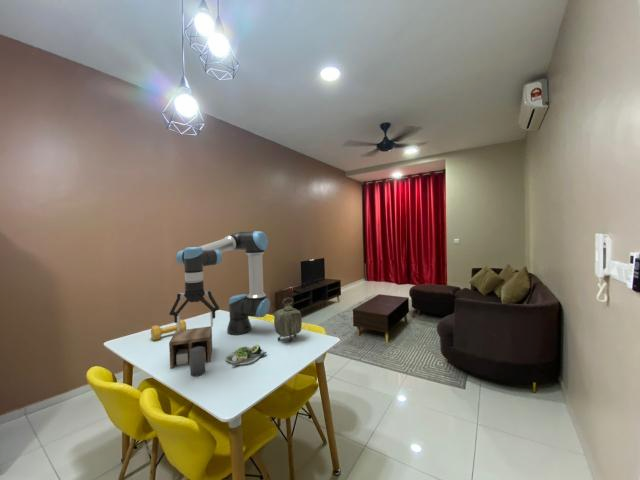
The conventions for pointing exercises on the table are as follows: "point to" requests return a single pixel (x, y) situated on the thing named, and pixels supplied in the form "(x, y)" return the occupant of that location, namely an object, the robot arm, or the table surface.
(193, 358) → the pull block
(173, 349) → the lane shelf
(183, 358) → the grey lane block
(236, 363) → the avocado toast plate
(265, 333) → the table surface
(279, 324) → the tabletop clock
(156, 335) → the dumbbell
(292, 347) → the table surface
